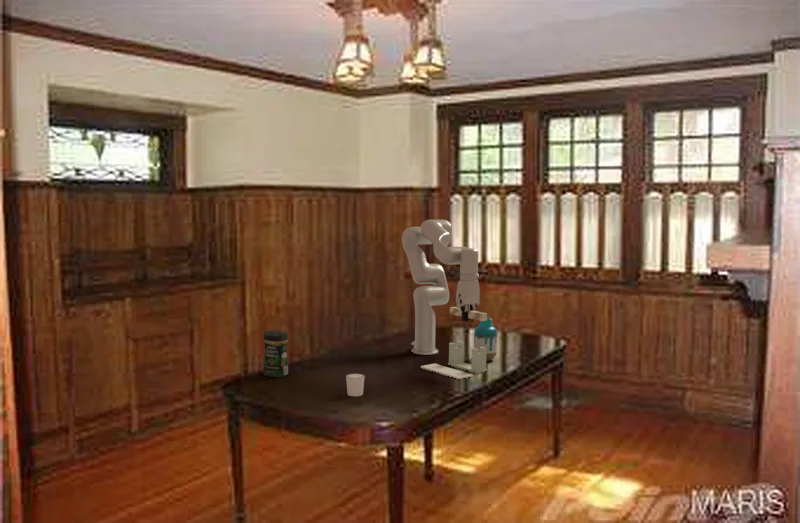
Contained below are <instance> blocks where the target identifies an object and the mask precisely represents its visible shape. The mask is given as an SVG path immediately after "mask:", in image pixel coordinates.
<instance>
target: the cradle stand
mask: <svg viewBox="0 0 800 523" xmlns="http://www.w3.org/2000/svg"><path fill="white" fill-rule="evenodd" d="M456 342H457V343H454V342H449V343H448V362H447V366H449V365H451V366H450V367H453V366H454V368H456V367H457V368H456V369H460V368H461V369H460V370H463V369H464V370H463V371H466V370H468V371H467V372H470V371H471V372H470V373H473V372H474V374H481V373H480V372H482V373H486V372H485V371H487V372H488V368H487V361H486V352H487V348H485V347H480V352H478V349H475V348H474V347H472V348H471V362H470V363H466V362H465V361H464V348H465V346H464V344H465V343H464V341H460V340H458V341H456Z"/></svg>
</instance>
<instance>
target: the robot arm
mask: <svg viewBox="0 0 800 523" xmlns="http://www.w3.org/2000/svg"><path fill="white" fill-rule="evenodd" d="M452 230H453V228H452V224H451V223H450V222H449V220H446V219H426V220H425V221H423V222H422V223H421V225H420V226H411V227H407V228H405V229H404V231H403V232H402V235H401V243H402V247H403V250H404V252H405V255H406V257H407V260H408V265H409V269H410V270H409V271H410V274H411V277H412V280H413V282H414V284H417V285H421V286H417V287H416V288H415V289H414V291H413V295H412V297H413V302H414V314H415V316H414V318H415V319H414V322H415V323H414V340H413V341H412V342H411V344H410V345H411V346H413V348H412V349H411V353H412V352H413V353H412V354H414V355H423V356H429V355H430V356H432V355H436V354H438V353H439V349H438V348H436V312H435V310H434V309H433V307H432V306H441V305H446V304H448V302H449V301H450V290H449V287H448V286H449V285H448V280H447V277H446V272H445V270H444V267H443V266H442V265H441V264H440V263H428V260H427V256H426V253H425V252H424V251H423V249H422V248H421V247H420V246H419V245H433V246H432V248H433V249H432V250H433V253H434V256H435V258H437V260H438V261H439V262H441V263H442V264H444V265H449V266H451V265H459V266H460V267H459V269H460V270H459V280H458V282H457V285H456V286H457V287H456V293H455V296H456V297H455V302H456V306H455V307H458V308H460V309H461V311H462V317H461V320H462V321H463V322H468V321H474V319H470V318H468V312H467V309H468V310H473V311H476V309H477V307H478V306H480V304H481V302H480V297H481V295H480V283H479V251H478V249H477V248H470V247H468V246H449V245H450V243H451V241H452V236H451V234H452ZM428 284H429V285H428ZM431 284H432V285H431Z"/></svg>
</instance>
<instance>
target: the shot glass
mask: <svg viewBox="0 0 800 523" xmlns="http://www.w3.org/2000/svg"><path fill="white" fill-rule="evenodd" d="M365 377H366V376H365V375H364V374H363V373H362V374H361V373H349V374H347V375H345V378H346V379H345V381H346V389H347V390H346V392H347V396H349V397H361V396H363V395H364V388H365V387H364V385H365Z"/></svg>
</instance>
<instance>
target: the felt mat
mask: <svg viewBox="0 0 800 523" xmlns="http://www.w3.org/2000/svg"><path fill="white" fill-rule="evenodd" d="M420 368H421V369H422V370H426V371H429V372H432V371H433V373H435V372H436V374H438V373H439V374H438V375H442V376H445V377H448V376H449V378H451V377H453V378H452V379H454V378H456V379H455V380H458V379H461V380H464V379H463V378H466V379H469V378H468V377H470V378H474V374H472V373H468V372H464V371H461V370H457V369H454V368H453V367H452V368H451V367H448V366H443V365H440V364H438V363H430V364H424V365H420Z"/></svg>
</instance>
